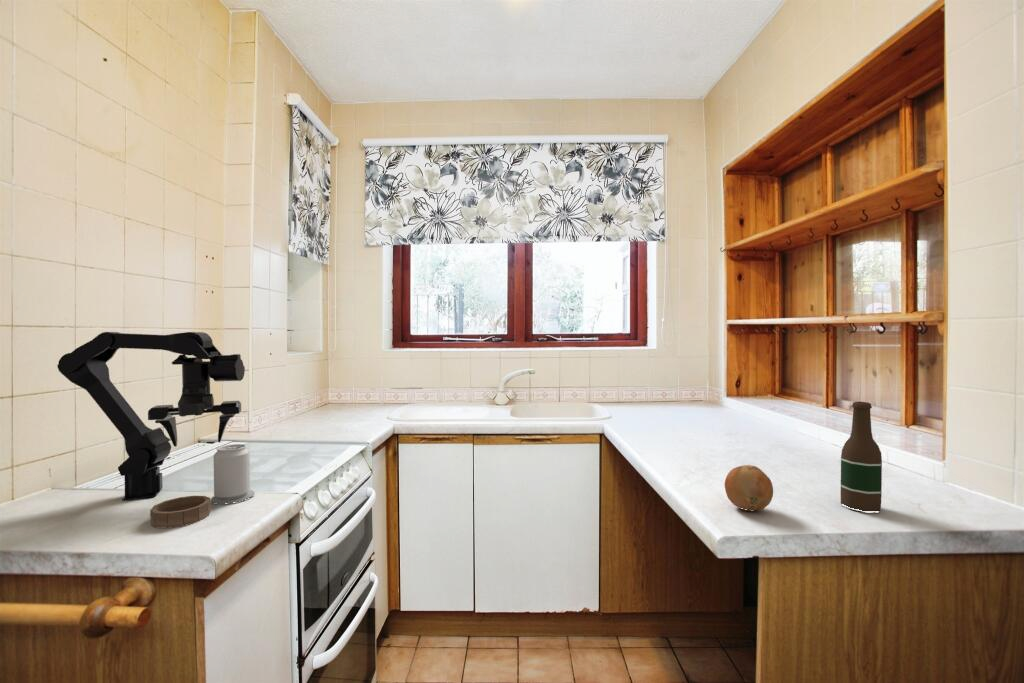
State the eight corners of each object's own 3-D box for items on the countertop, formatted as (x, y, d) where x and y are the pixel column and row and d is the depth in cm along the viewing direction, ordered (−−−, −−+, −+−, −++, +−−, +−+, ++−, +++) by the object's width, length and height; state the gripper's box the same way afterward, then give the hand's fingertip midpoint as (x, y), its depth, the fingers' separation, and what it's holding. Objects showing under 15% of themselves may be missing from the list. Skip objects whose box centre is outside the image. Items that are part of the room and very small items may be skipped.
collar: (144, 531, 93) (144, 516, 93) (159, 513, 102) (158, 499, 102) (205, 522, 97) (205, 508, 97) (213, 506, 106) (213, 493, 106)
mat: (207, 507, 106) (207, 504, 106) (214, 494, 114) (214, 492, 114) (252, 501, 109) (252, 498, 109) (256, 489, 118) (256, 487, 118)
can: (247, 498, 109) (246, 448, 109) (210, 502, 107) (209, 451, 107) (252, 489, 116) (252, 441, 116) (218, 492, 114) (217, 444, 114)
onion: (760, 502, 108) (760, 459, 108) (782, 518, 98) (782, 472, 98) (717, 501, 109) (718, 459, 109) (735, 517, 99) (735, 471, 99)
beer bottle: (874, 503, 107) (875, 400, 107) (888, 516, 100) (890, 405, 99) (834, 499, 110) (835, 399, 109) (846, 511, 102) (847, 404, 102)
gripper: (139, 387, 104) (141, 456, 104) (235, 383, 112) (236, 447, 112) (153, 383, 114) (155, 445, 114) (240, 379, 122) (242, 437, 122)
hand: (197, 444), depth 116 cm, fingers open, 9 cm apart
